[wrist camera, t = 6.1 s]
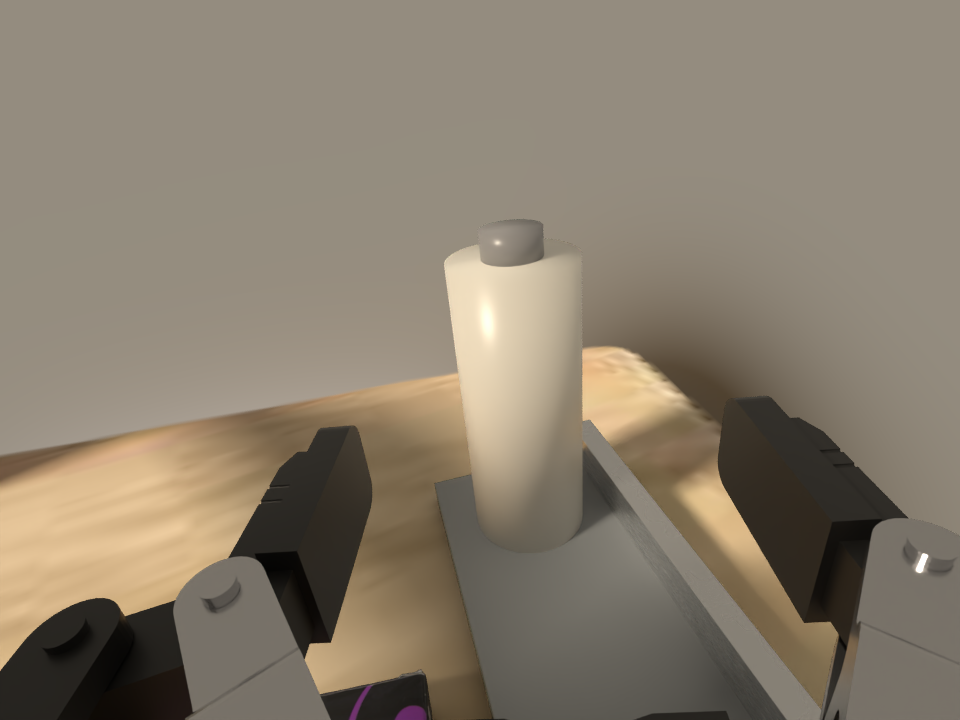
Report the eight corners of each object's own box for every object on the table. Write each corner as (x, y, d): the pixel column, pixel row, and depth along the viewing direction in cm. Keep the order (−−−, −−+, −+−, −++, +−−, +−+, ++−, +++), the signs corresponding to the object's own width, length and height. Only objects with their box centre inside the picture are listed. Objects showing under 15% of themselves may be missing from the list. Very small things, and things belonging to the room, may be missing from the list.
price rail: (571, 450, 32) (571, 423, 31) (593, 445, 32) (593, 418, 31) (1340, 1591, 7) (1451, 1631, 6) (1407, 1534, 8) (1521, 1561, 7)
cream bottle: (563, 567, 24) (554, 250, 17) (458, 534, 27) (413, 244, 20) (595, 488, 29) (598, 210, 22) (503, 466, 31) (479, 210, 24)
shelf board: (437, 498, 31) (434, 483, 30) (592, 461, 33) (592, 445, 32) (809, 1981, 6) (831, 2042, 6) (1350, 1523, 8) (1406, 1536, 8)
